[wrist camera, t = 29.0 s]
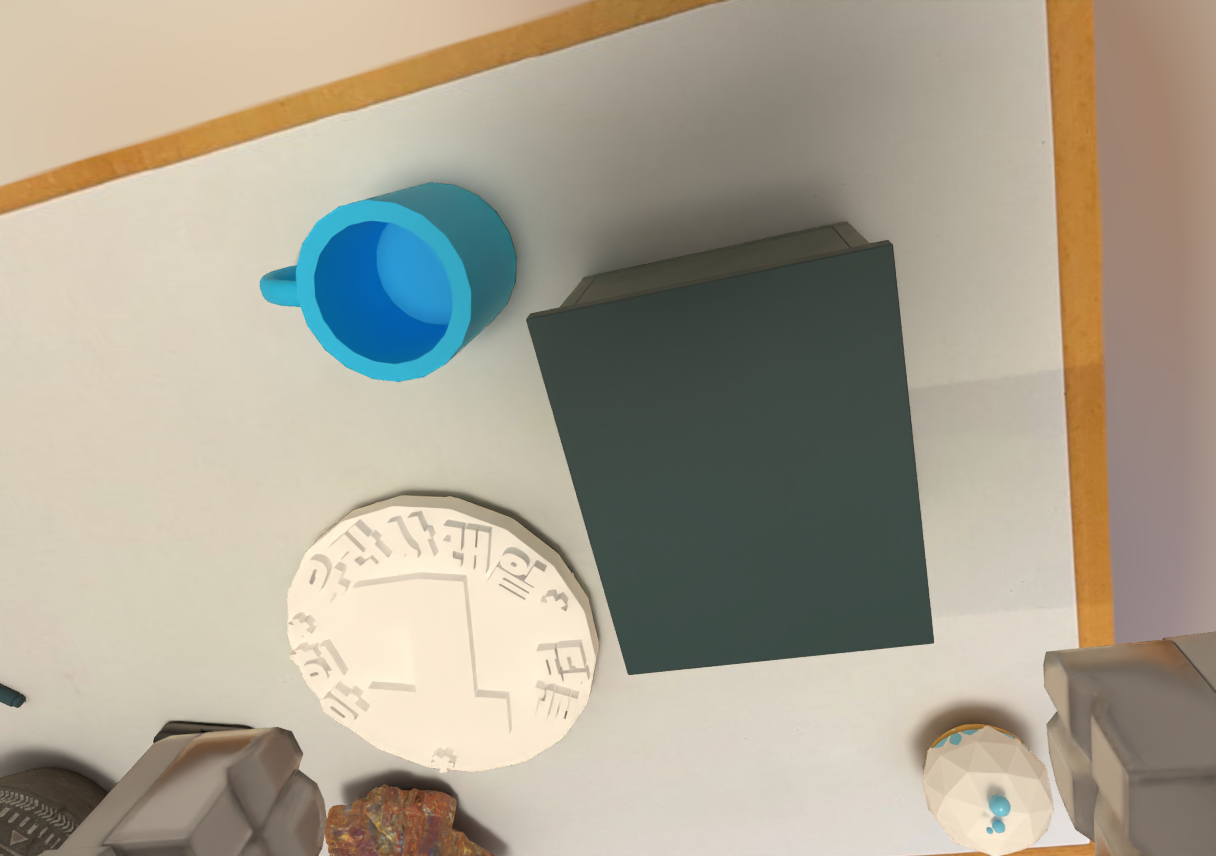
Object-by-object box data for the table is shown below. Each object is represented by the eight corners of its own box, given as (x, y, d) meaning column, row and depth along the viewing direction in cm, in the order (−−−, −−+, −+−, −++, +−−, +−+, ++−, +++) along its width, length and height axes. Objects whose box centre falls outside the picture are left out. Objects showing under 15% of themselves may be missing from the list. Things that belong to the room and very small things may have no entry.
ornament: (1048, 759, 50) (1104, 873, 42) (940, 799, 52) (975, 914, 45) (998, 681, 48) (1047, 785, 41) (889, 726, 50) (917, 832, 43)
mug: (507, 177, 41) (458, 193, 34) (524, 332, 44) (483, 379, 37) (289, 192, 43) (197, 211, 35) (320, 340, 46) (241, 386, 38)
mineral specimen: (484, 782, 55) (470, 896, 51) (514, 807, 61) (503, 911, 57) (320, 782, 57) (294, 892, 53) (365, 806, 63) (344, 907, 59)
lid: (529, 313, 32) (525, 319, 31) (888, 238, 29) (893, 243, 28) (629, 664, 38) (627, 675, 37) (930, 632, 35) (934, 644, 35)
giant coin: (280, 684, 56) (257, 713, 53) (333, 443, 48) (309, 463, 46) (548, 783, 56) (539, 818, 53) (644, 559, 48) (639, 586, 46)
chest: (583, 277, 42) (539, 330, 33) (847, 221, 40) (887, 260, 30) (649, 547, 48) (629, 663, 38) (885, 515, 45) (930, 631, 35)
